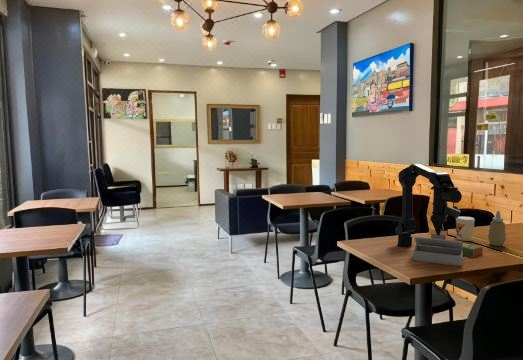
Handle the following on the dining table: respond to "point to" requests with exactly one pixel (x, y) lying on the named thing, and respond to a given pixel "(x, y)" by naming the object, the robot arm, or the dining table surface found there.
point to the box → (438, 255)
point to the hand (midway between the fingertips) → (438, 234)
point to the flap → (439, 241)
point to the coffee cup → (464, 228)
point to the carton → (471, 250)
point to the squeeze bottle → (497, 231)
